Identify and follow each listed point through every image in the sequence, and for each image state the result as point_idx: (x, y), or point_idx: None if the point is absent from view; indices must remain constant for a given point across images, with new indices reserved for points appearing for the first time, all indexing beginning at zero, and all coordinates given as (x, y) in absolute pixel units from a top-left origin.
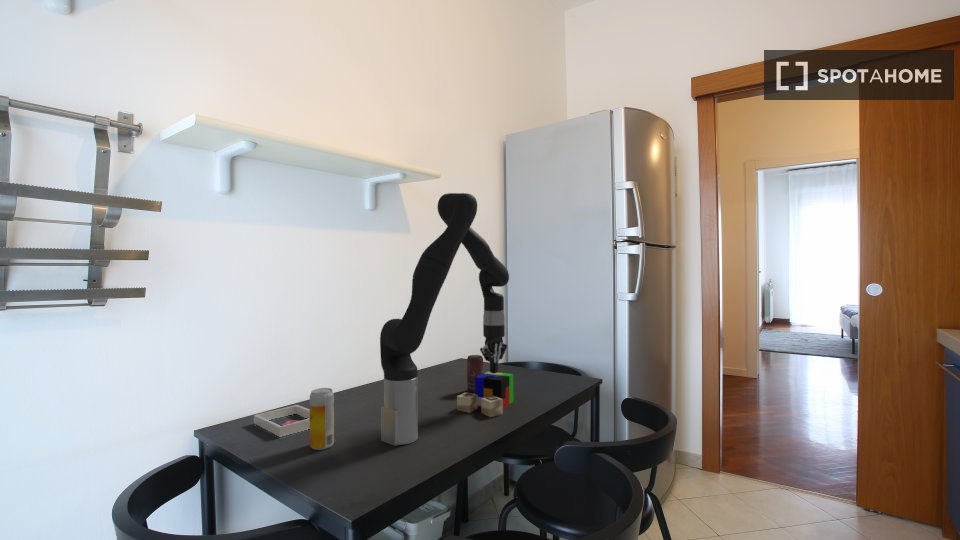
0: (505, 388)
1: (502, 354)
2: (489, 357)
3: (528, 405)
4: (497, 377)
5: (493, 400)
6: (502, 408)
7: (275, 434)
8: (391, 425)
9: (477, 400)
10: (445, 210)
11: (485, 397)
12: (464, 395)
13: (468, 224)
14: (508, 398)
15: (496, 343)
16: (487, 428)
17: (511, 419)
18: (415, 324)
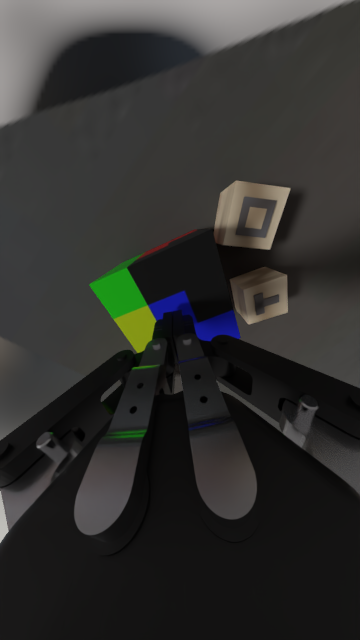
0: (169, 244)
1: (100, 376)
2: (262, 350)
3: (103, 203)
4: (184, 285)
5: (268, 195)
6: (226, 188)
7: None
8: None
9: (236, 285)
10: None
11: (255, 247)
12: (277, 301)
13: None
14: (149, 251)
15: (224, 510)
16: (355, 108)
17: (241, 121)
18: None
